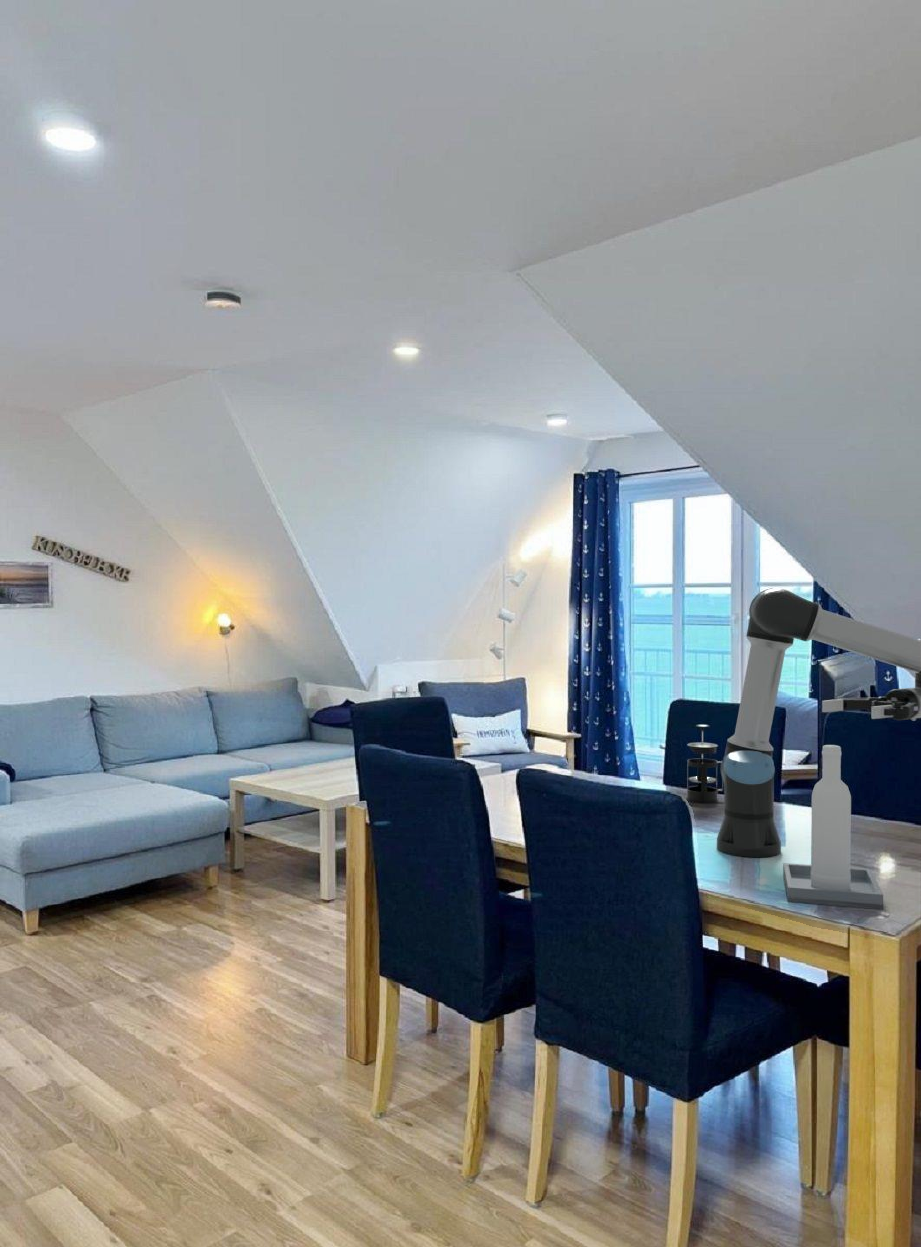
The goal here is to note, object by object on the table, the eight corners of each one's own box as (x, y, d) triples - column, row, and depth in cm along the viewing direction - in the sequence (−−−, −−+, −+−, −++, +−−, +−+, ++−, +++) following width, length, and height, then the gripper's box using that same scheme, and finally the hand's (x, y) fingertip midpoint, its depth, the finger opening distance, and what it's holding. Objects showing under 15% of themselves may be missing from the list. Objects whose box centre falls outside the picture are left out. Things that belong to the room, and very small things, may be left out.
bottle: (859, 891, 198) (860, 748, 197) (827, 894, 196) (828, 750, 195) (833, 880, 206) (834, 742, 205) (802, 883, 204) (803, 744, 202)
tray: (787, 902, 195) (788, 887, 194) (783, 876, 212) (783, 863, 212) (883, 909, 190) (883, 894, 190) (870, 882, 207) (870, 869, 207)
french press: (685, 803, 285) (686, 726, 284) (682, 796, 295) (682, 722, 294) (726, 803, 284) (726, 727, 283) (721, 797, 293) (721, 722, 292)
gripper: (954, 725, 220) (894, 732, 210) (862, 713, 242) (804, 719, 232) (954, 693, 220) (895, 698, 210) (862, 684, 242) (804, 688, 232)
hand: (847, 709), depth 221 cm, fingers open, 13 cm apart
